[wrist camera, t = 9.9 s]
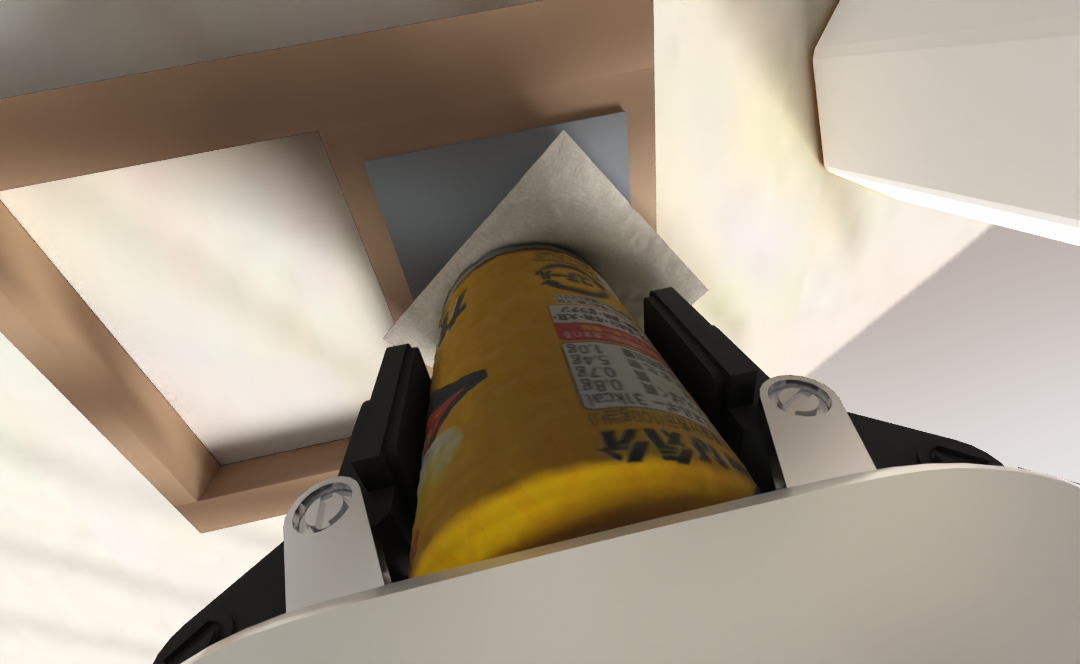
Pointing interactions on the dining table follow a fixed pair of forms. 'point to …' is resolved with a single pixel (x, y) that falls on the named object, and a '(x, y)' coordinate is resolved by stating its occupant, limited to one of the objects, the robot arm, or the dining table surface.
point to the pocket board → (362, 172)
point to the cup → (957, 107)
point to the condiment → (555, 378)
